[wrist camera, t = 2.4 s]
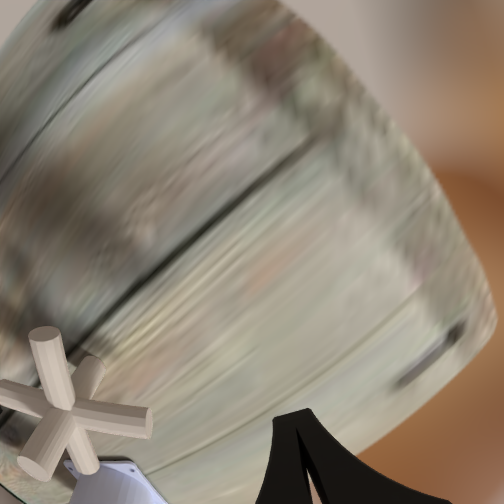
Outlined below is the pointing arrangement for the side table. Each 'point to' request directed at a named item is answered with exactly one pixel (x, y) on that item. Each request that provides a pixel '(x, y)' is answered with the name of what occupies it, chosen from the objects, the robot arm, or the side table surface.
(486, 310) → the side table surface
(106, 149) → the side table surface
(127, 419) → the pipe connector
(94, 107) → the side table surface
